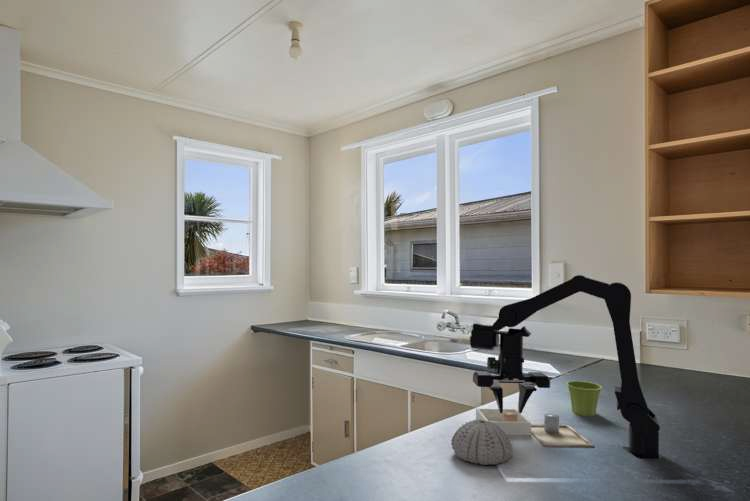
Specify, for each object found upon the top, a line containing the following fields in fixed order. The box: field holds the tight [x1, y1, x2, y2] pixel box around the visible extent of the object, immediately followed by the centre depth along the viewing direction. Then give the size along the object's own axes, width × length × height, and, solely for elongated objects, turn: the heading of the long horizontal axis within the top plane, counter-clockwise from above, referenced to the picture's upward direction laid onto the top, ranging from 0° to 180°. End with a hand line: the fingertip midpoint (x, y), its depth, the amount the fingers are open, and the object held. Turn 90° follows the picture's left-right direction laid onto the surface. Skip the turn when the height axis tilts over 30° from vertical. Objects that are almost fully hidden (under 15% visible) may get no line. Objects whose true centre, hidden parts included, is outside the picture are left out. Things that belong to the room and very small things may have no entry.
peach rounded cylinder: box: [503, 412, 518, 422], centre depth 121 cm, size 4×4×4 cm
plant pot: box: [566, 380, 603, 417], centre depth 137 cm, size 9×9×9 cm
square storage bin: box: [475, 407, 532, 436], centre depth 123 cm, size 11×11×4 cm
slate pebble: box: [543, 412, 560, 434], centre depth 121 cm, size 4×4×4 cm
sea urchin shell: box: [450, 419, 513, 466], centre depth 105 cm, size 13×14×8 cm
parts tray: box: [531, 423, 595, 448], centre depth 117 cm, size 14×12×1 cm
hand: (510, 412), depth 121 cm, fingers open, 5 cm apart
